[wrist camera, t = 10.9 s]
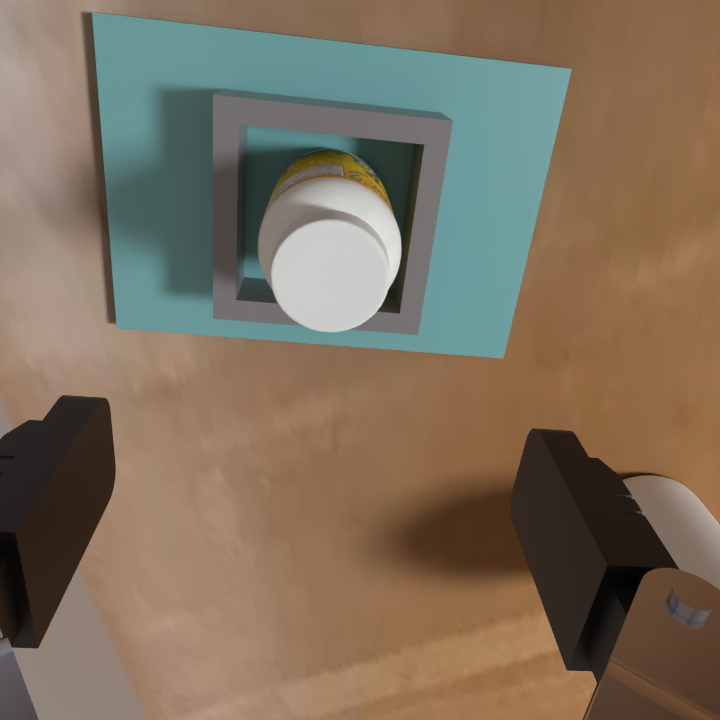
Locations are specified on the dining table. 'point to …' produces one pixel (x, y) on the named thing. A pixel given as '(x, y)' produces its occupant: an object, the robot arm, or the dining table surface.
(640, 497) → the pill bottle
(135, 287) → the bottle stand
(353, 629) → the dining table surface
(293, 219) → the supplement bottle
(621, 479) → the robot arm
